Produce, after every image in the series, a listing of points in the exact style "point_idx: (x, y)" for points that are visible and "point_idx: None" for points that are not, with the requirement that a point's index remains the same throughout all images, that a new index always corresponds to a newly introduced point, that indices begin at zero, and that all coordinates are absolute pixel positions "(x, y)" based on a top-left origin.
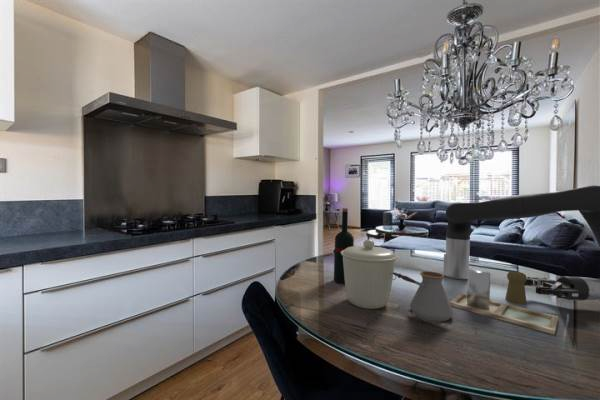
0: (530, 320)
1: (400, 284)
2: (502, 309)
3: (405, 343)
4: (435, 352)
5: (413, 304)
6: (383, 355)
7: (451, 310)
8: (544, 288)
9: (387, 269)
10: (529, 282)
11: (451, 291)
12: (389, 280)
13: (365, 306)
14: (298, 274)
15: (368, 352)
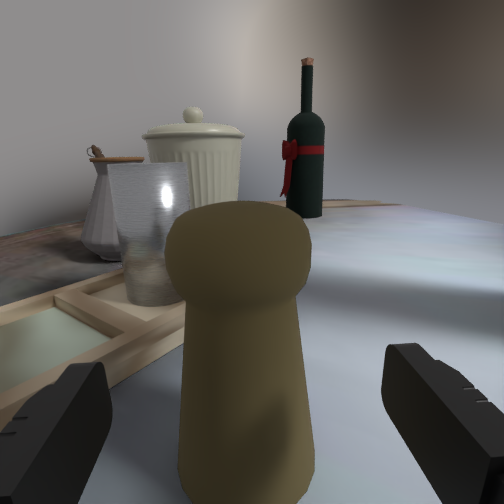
0: None
1: (337, 242)
2: (88, 309)
3: (56, 237)
4: (16, 247)
5: None
6: (42, 230)
7: (89, 235)
8: (32, 430)
9: (152, 154)
10: (463, 481)
11: (342, 291)
12: None
13: None
14: None
15: (55, 226)
